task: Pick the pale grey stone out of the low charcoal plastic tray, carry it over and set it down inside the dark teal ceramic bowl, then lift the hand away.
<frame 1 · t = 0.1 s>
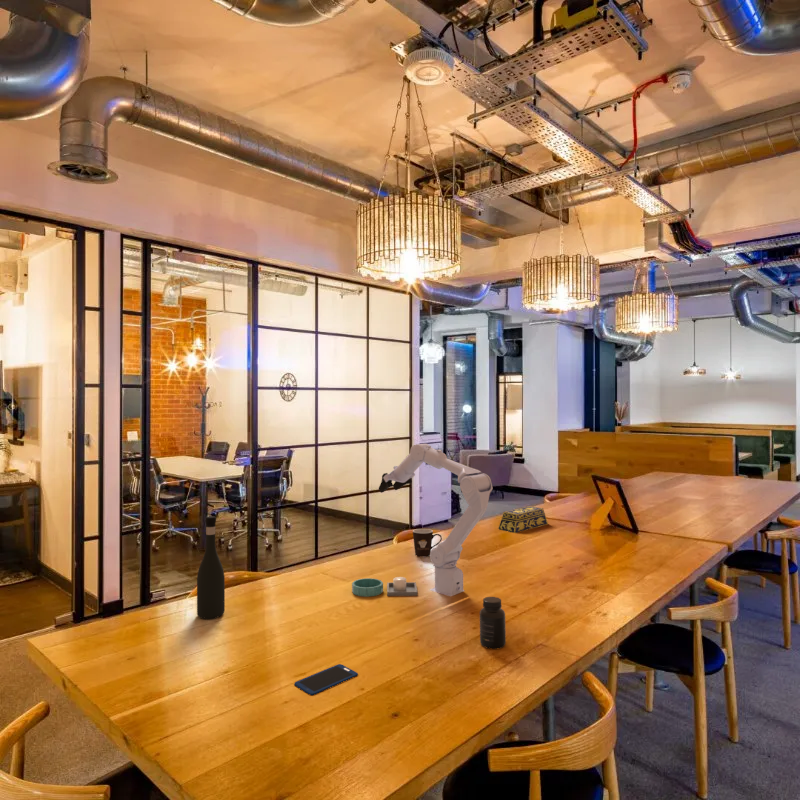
hand: (387, 489, 215), 32 cm above the table, tool tilted 50°, fingers open, 7 cm apart
bowl: (367, 593, 194), on the table
cell phone: (326, 682, 134), on the table
stone: (399, 590, 195), point 1 cm above the table, touching parts tray
coffee mug: (426, 555, 241), on the table
parts tray: (401, 592, 195), on the table
supplement bottle: (492, 644, 153), on the table
wine bottle: (210, 615, 174), on the table
decorative box: (523, 527, 295), on the table
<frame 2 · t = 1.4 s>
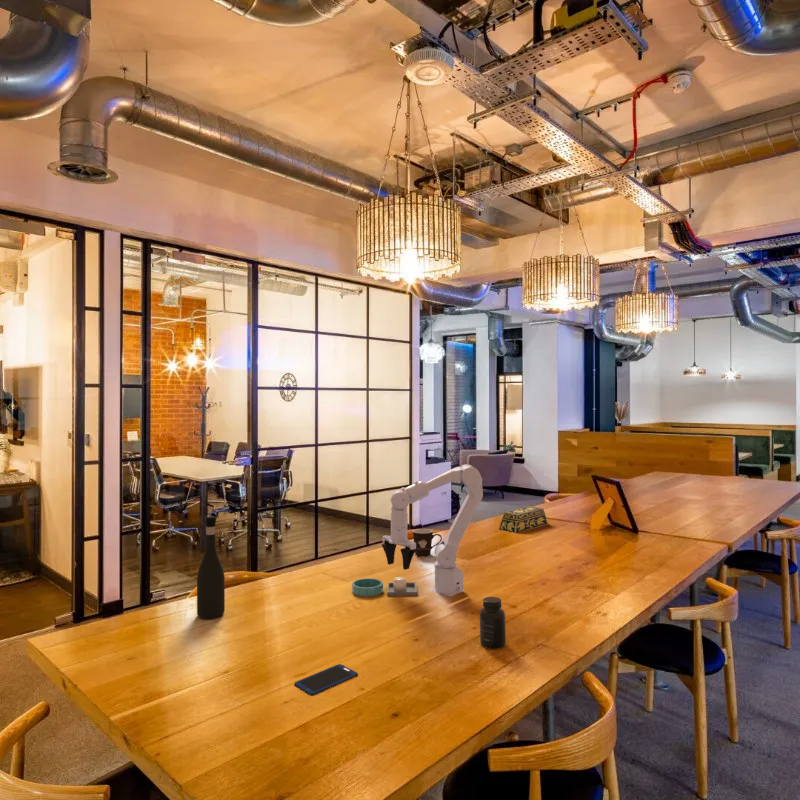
hand: (398, 566, 195), 9 cm above the table, tool pointing down, fingers open, 7 cm apart
nothing on the table moved.
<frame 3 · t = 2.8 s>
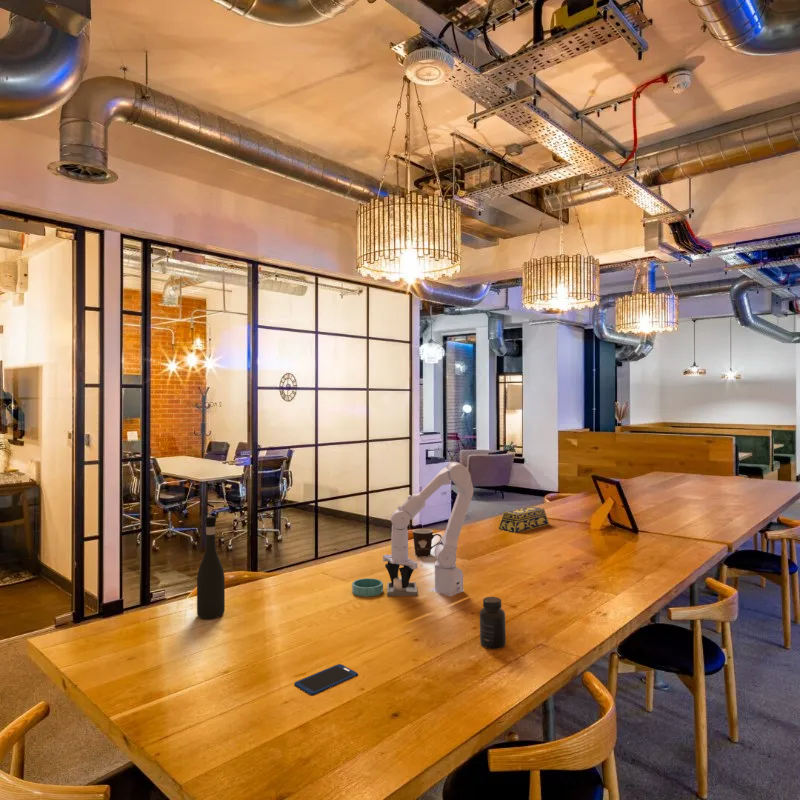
hand: (399, 585, 195), 2 cm above the table, tool pointing down, fingers closed on stone, 4 cm apart
stone: (399, 590, 195), point 1 cm above the table, touching gripper, parts tray
everything else where it was.
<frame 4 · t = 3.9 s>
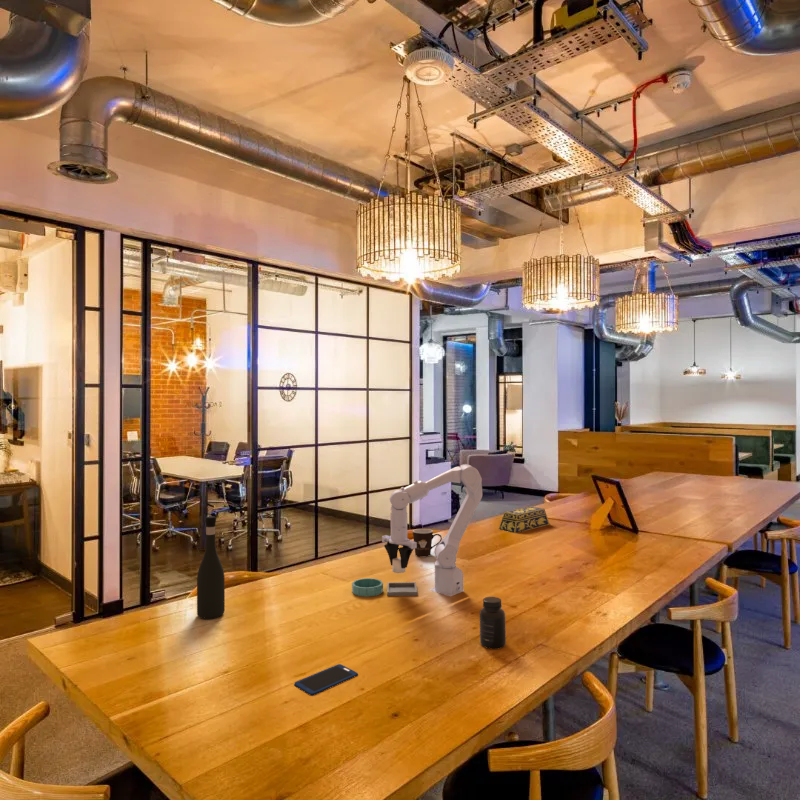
hand: (398, 566, 195), 9 cm above the table, tool pointing down, fingers closed on stone, 4 cm apart
stone: (398, 571, 194), point 7 cm above the table, touching gripper
everything else where it was.
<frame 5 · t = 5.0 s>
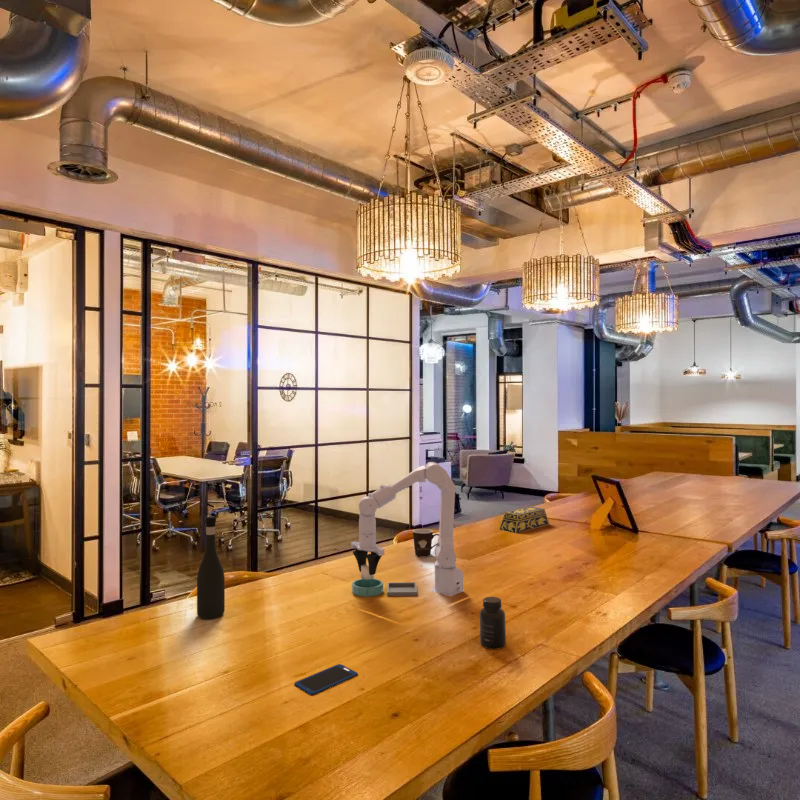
hand: (367, 572, 194), 7 cm above the table, tool pointing down, fingers closed on stone, 4 cm apart
stone: (367, 577, 194), point 5 cm above the table, touching gripper
everything else where it was.
when the fingers open (4 cm above the table, at t = 5.9 s): stone drops 2 cm, resting on bowl.
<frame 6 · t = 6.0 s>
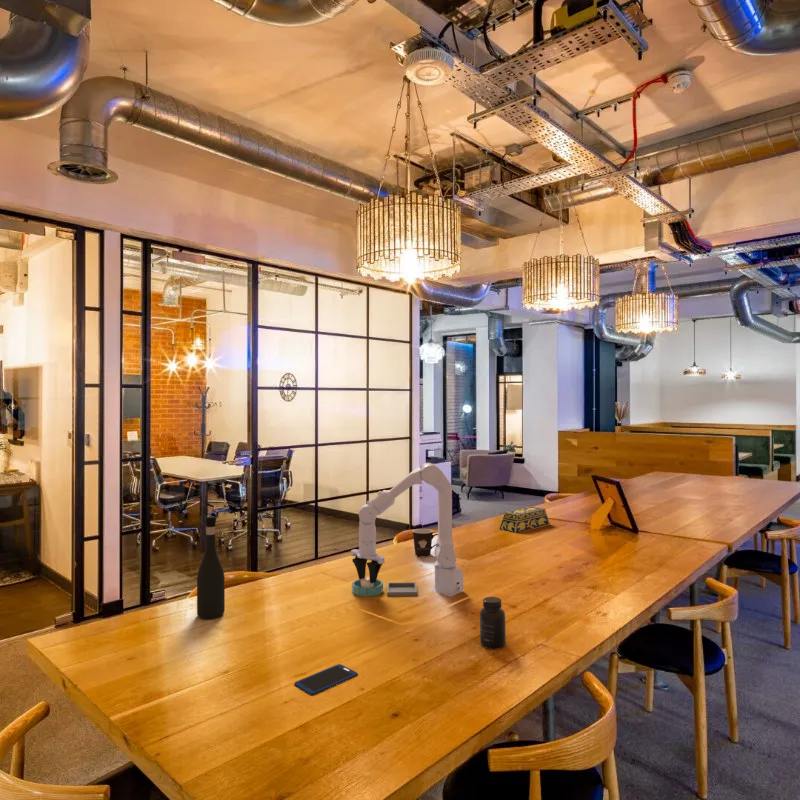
hand: (367, 580, 194), 4 cm above the table, tool pointing down, fingers open, 5 cm apart
stone: (367, 591, 194), point 1 cm above the table, touching bowl
everything else where it was.
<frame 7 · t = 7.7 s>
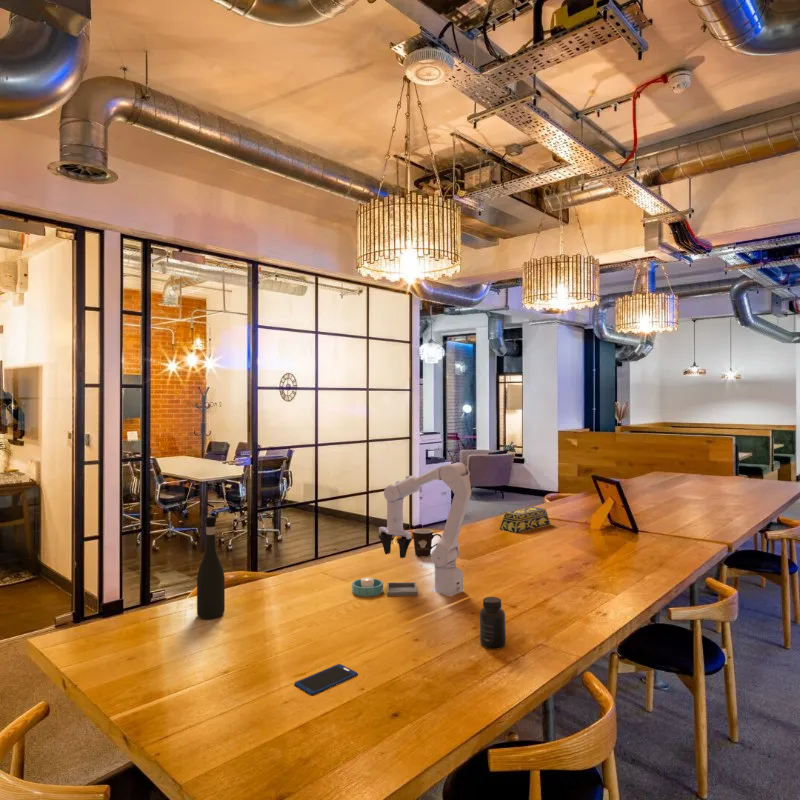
hand: (395, 555, 206), 9 cm above the table, tool pointing down, fingers open, 7 cm apart
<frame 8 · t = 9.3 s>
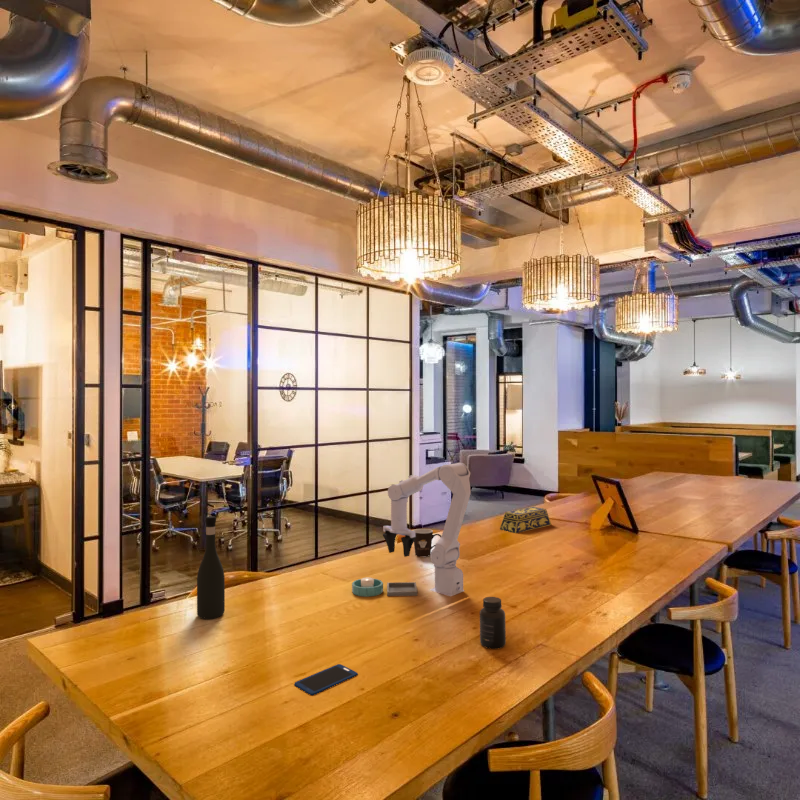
hand: (399, 554, 208), 9 cm above the table, tool pointing down, fingers open, 7 cm apart
at the end: stone 0.1 cm off-centre on the bowl, point 0.6 cm above the bowl's base; the gripper is holding nothing; stone moved 11.0 cm from its start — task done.
